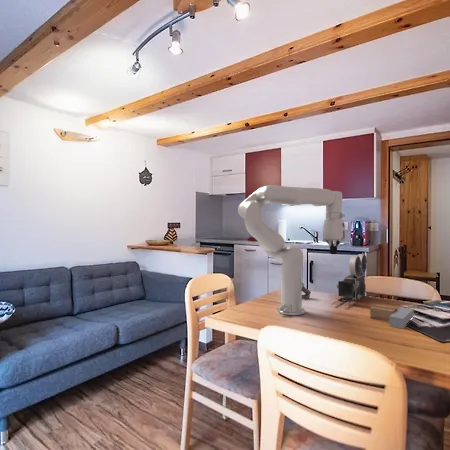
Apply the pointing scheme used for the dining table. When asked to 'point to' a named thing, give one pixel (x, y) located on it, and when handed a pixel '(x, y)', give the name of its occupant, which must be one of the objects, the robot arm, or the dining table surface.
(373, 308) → the walnut block
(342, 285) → the film camera
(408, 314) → the board
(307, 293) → the futuristic pistol
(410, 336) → the dining table surface
